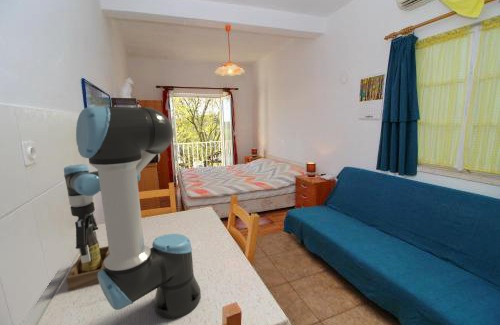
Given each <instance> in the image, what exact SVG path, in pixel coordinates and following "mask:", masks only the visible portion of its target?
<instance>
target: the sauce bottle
mask: <svg viewBox="0 0 500 325" xmlns="http://www.w3.org/2000/svg"><path fill="white" fill-rule="evenodd" d="M87 245H88V248H89V254H90V260H91V261H90V262H85V263H83V268H84V272H85V273H86V272H90V271H94V270H99V269H101V267H102V266H101V265H102V262H101V256H100V249H99V248H100V242H99V241H97V239H96V237H95V236H94V233H93V225H92V224H89V229H88V230H87Z"/></svg>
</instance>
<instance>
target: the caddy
mask: <svg viewBox="0 0 500 325" xmlns="http://www.w3.org/2000/svg"><path fill="white" fill-rule="evenodd" d="M99 249H100V256H101V262H102V265H101V266H102V267H101V269H99V270H94V271H90V272H86V273H85V272H84V268H83V263H82V262H81V256H80V255H79V257H78V258H77V259H76V261H75V263H74V264H73V266H72V268H71V270H70V272H69V274H68V275H67V277H66V283H67V284H66V285H67V288H68V292H70V291H75V290H78V289H82V288H86V287H91V286H94V285H98V284H99V281H98V277H97V275H98V272H99V271H101V270H102V269H105V267H104V260H105V258H106V257H107V256H108V255H109V247H108V245H107V246H101V247H99ZM99 285H100V284H99Z"/></svg>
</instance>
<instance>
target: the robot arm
mask: <svg viewBox="0 0 500 325" xmlns="http://www.w3.org/2000/svg"><path fill="white" fill-rule="evenodd" d="M75 136H76V137H75V138H76V139H75V140H76V141H75V142H76V146H77V151H78V153H79V154H80V157H83V158H85V159H88V163H89V165H91V167H94V168H95V169H96V170H97V171H90V170H89V167H88V165H86V164H81V163H80V164H73V165H67V166H65V167H64V168H63V174H64V175H63V177H64V181H65V184H66V190H67V195H68V203H69V206H70V214H71V216H73V217H76V218H77V220H76V221H75V245H76V246H75V249H76V250H79V251H78V252H79V256H81V262H82V263H85V262H90V261H91V260H90V254H89V248H88V245H87V230H88V229H89V224H92V225H93V233H94V236H95V237H96V239H97V241H98V232H97V231H98V230H99V227H98V224H97V221H96V219H95V217H94V212H95V209H96V208H95V203H94V198H93V197H94V196H95V195H97V194H98V193H99V192H100V196H101V202H102V210H103V217H104V224H105V231H106V239H107V246H108V247H109V255H108V256H107V257H106V258H105V260H104V267H105V269H102V270H101V271H99V272H98V275H97V277H98V281H99V286H100V289H101V291H102V292H103V294H104V296H105V298H106V301H107V302H108V303H109V306H111V308H112V309H113V310H117V311H120V310H122V309H124V308H126V307H128V306H130V305H133V304H134V303H135V302H136V301H138V300H140V299H142V298H143V297H145V296H146V295H148V294H150V293H152V292H153V291H154V290H155V296H154V302H153V303H154V310H155V313H156V314H157V315H158V316H160V318H163V319H178V318H181V317H184V316H186V315H188V314H190V313H191V312H192V311H193V310H195V309H196V308H197V306H198V305H199V304H200V301H201V299H202V298H201V297H202V294H201V287H200V285H199V283H198V281H197V279H196V277H195V275H194V264H193V263H194V262H193V254H192V252H193V248H192V244H191V240H190V237H188V236H187V235H185V234H182V233H181V234H180V233H166V234H163V235H160V236H158V237H156V238H154V240H153V241H152V244H151V245H152V247H151V248H150V247H149V246H147V245H146V244H145V241H144V231H143V230H144V229H143V221H142V211H141V210H142V209H141V202H140V201H141V200H140V193H139V192H140V191H139V190H140V189H139V181H140V180H141V172H142V171H143V169H145V168H146V167H147V166H148V164H149V163H150V162H151V161H152V160H153V159H154V158H155V157H156V155H160V154H162V153H164V152H165V151H166V150H167V149H168V148H169V146H170V145H171V143H172V141H173V137H174V128H173V125H172V123H171V121H170V120H169V118H168V117H167V116H166V115H165V114H164V113H162V112H161V111H159V110H158V109H155V108H152V107H146V106H145V107H144V106H143V107H142V106H141V107H137V106H134V107H133V106H108V105H103V106H88V107H85V108H83V109H82V110H81V111H80V113H79V115H78V118H77V121H76V127H75ZM98 242H99V241H98Z"/></svg>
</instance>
